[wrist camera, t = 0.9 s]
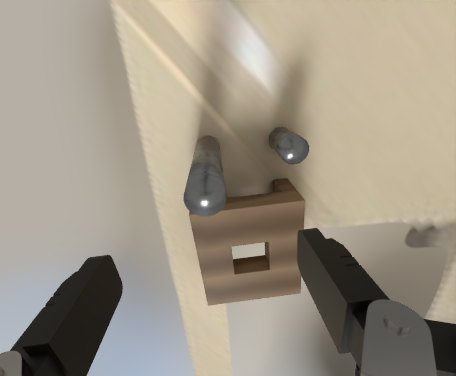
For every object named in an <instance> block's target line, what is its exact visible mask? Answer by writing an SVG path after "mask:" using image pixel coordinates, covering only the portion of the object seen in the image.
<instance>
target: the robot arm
mask: <svg viewBox="0 0 456 376" xmlns="http://www.w3.org/2000/svg"><path fill="white" fill-rule="evenodd" d="M297 263H298V268H299V271H300V274H301V276H302V278H303V280H304V282H305V284H306V286H307V288H308V290H309V292H310V294H311V296H312V298H313V300H314V302H315V304H316V306H317V309H318V310H319V313H320V315H321V317H322V319H323V321H324V323H325V325H326V327H327V329H328V331H329V333H330V335H331V337H332V339H333V341H334V343H335V345H336V348H337V350H338V352H339V353H340V354H342V353H349V352H351V353H352V356H353V357H354V359H355V361H356V367H355V375H354V376H456V324H451V323H445V322H439V321H432V320H427V319H423V318H422V317H421V316H420V315H419V314H417V313H416V312H415V311H414V310H412V309H410V308H409V307H407V306H405V305H403V304H401V303H399V302H396V301H392V300H390V299H389V298H388V297H387V296H386V295H385V294H384V292H383V291H382V290H381V289H380V288H379V286H378V285H377V284H376V283H375V282H374V281H373V279H372V278H371V277H370V276H369V275H368V274H367V272H366V271H365V270H364V269H363V268H362V266H361V265H359V263H358V262H357V261H356V260H355V258H354V257H352V255H351V254H350V252H349V251H348V250H347V249H346V248H345V247H344V245H342V244H340V243H339V242H337V241H336V240H334V239H332V238H330V239H326V238H324V236H323V235H322V233H321V232H320V231H319V230H318V229H317V228H312V229H304V230H299V231H298V234H297ZM122 287H123V286H122V281H121V278H120V277H119V274H118V271H117V269H116V266H115V264H114V262H113V259H112V257H111V256H110V255H105V256H97V257H90V258H88V259H87V260H86V261H85V262H84V264H83V265H82V266H81V268H80V269H79V271H78V272H75V273H74V274H72V276H70V277H69V278H68V279H66V280H65V281H64V282H63V283H62V284H61V286H60V287H59V288H58V289H57V291H56V292H55V293H54V296H53V297H51V298H50V300H49V301H48V302H47V303H46V306H45V307H44V308H43V309H42V310H41V311H40V312H39V314H38V315H37V316H36V318H35V319H34V320H33V321H32V323H31V324H30V325H29V327H28V328H27V329H26V331H25V332H24V333H23V334H22V336H21V337H20V338H19V340H18V341H17V342H16V343H15V345H14V346H13V347H12V349H11V350H10V351H8V352H4V353H1V354H0V376H86V375H87V373H88V371H89V369H90V366H91V364H92V362H93V360H94V358H95V355H96V353H97V350H98V348H99V346H100V344H101V342H102V339H103V337H104V335H105V332H106V330H107V328H108V326H109V323H110V321H111V318H112V316H113V314H114V312H115V310H116V307H117V305H118V303H119V301H120V298H121V295H122V289H123V288H122Z"/></svg>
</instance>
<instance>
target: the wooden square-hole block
mask: <svg viewBox="0 0 456 376" xmlns="http://www.w3.org/2000/svg"><path fill="white" fill-rule="evenodd" d="M304 209H305V200H304V199H303V197H302V196H301V195H300V194H299V192H298V191H297V190H296V189H295V187H294V186H293V185H292V184H291V183H290V181H289V180H288V179H287V178H285V179H277V180H274V193H266V194H258V195H250V196H242V197H234V198H226V203H225V205H224V207H223V208H222V210H221V211H220V212H218V213H217V214H215V215H212V216H206V217H204V216H198V215H195V214H194V213H192V212H191V211H190V213H189V216H190V221H191V226H192V231H193V235H194V240H195V245H196V250H197V255H198V259H199V264H200V269H201V274H202V278H203V283H204V288H205V293H206V298H207V302H208V305H215V304H223V303H231V302H238V301H245V300H253V299H261V298H268V297H276V296H283V295H291V294H299V293H300V291H301V290H300V289H301V274H300V271H299V268H298V263H297V234H298V231H299V230H304ZM262 242H265V255H263V256H255V257H248V258H240V259H233V258H232V249H231V246H238V245H246V244H253V243H262Z"/></svg>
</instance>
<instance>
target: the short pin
mask: <svg viewBox="0 0 456 376" xmlns="http://www.w3.org/2000/svg"><path fill="white" fill-rule="evenodd" d="M269 144H270V146H271V147H272V148H273V149H274V150H275V152H276V153H277V154H278V155H279V156H280V157H281V158H282V159H283V160H284V161H285V162H287V163H289V164H297V163H300V162H302V161H303V160H304V159H305V158H306V156H307V155H308V152H309V145H308V142H307V141H306V140H305V139H304V138H302V137H300V136H299V135H297V134H295V133H294V132H292V131H290V130H288V129H287V128H284V127H279V128H276V129H274V130H273V131H272V132H271V134H270V136H269Z"/></svg>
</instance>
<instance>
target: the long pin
mask: <svg viewBox="0 0 456 376" xmlns="http://www.w3.org/2000/svg"><path fill="white" fill-rule="evenodd" d="M184 203H185V205H186V207H187V208H188V210H189V211H191V212H192V213H194V214H195V215H198V216H204V217H206V216H212V215H215V214H217V213H218V212H220V211H221V210H222V208H223V207H224V205H225V203H226V191H225V184H224V176H223V169H222V161H221V154H220V146H219V143H218V141H217V140H216V139H215V138H213V137H211V136H204V137H202V138H200V139H199V140H198V142H197V144H196V148H195V152H194V156H193V160H192V164H191V168H190V172H189V176H188V180H187V184H186V188H185V192H184Z"/></svg>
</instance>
